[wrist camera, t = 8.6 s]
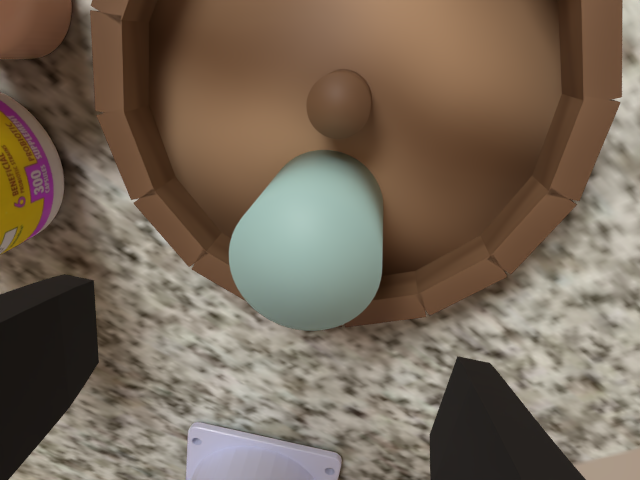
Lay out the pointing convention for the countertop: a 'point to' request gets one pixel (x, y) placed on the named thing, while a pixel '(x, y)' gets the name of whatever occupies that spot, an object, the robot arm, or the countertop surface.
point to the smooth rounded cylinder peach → (32, 27)
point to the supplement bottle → (26, 175)
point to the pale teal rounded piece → (312, 243)
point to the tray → (363, 122)
